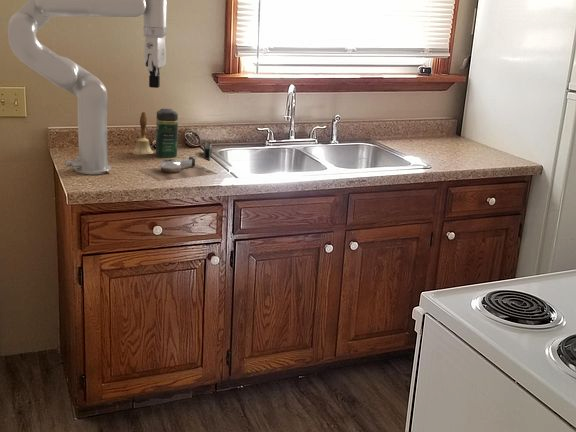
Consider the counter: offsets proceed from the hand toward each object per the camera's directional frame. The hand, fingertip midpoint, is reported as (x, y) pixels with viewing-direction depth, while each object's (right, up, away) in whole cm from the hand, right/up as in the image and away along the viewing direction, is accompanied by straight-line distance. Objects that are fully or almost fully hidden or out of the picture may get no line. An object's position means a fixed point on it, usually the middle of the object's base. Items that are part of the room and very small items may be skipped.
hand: (154, 87), depth 241 cm
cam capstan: (+8, -28, +6) cm, 29 cm away
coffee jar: (0, -22, +26) cm, 34 cm away
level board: (+8, -30, +3) cm, 31 cm away
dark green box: (+15, -22, +32) cm, 42 cm away
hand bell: (-10, -20, +30) cm, 38 cm away
